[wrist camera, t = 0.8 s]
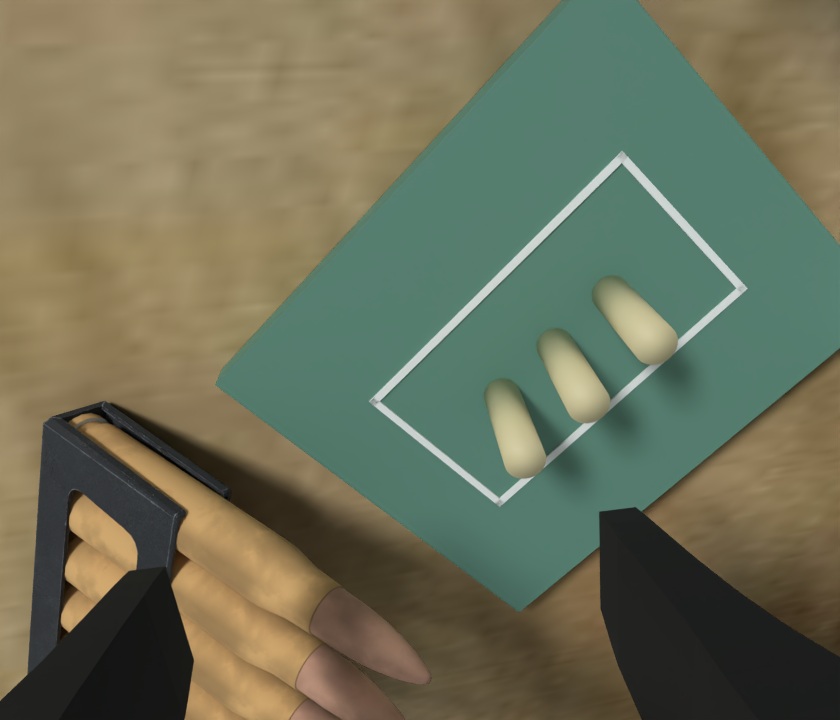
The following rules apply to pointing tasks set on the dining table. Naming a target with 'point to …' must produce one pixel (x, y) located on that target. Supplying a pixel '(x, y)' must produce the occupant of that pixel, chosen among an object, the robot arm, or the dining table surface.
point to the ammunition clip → (202, 579)
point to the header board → (552, 306)
